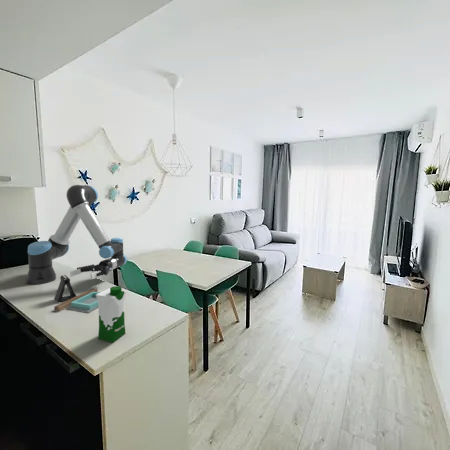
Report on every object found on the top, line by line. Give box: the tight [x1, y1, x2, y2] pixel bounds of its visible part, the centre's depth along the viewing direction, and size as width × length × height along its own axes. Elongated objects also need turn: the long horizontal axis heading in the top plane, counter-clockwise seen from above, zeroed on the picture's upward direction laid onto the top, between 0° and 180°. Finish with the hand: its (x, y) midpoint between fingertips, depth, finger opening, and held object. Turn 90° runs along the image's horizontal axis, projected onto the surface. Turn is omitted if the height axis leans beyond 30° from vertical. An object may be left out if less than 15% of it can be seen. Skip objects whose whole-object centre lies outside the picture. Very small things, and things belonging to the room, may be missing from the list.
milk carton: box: [96, 285, 127, 344], centre depth 99 cm, size 9×9×20 cm
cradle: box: [65, 291, 100, 314], centre depth 128 cm, size 13×18×3 cm
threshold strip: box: [54, 288, 98, 312], centre depth 130 cm, size 3×24×2 cm, turn 165°
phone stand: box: [53, 274, 77, 304], centre depth 131 cm, size 9×6×12 cm, turn 135°
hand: (80, 275), depth 140 cm, fingers open, 13 cm apart
